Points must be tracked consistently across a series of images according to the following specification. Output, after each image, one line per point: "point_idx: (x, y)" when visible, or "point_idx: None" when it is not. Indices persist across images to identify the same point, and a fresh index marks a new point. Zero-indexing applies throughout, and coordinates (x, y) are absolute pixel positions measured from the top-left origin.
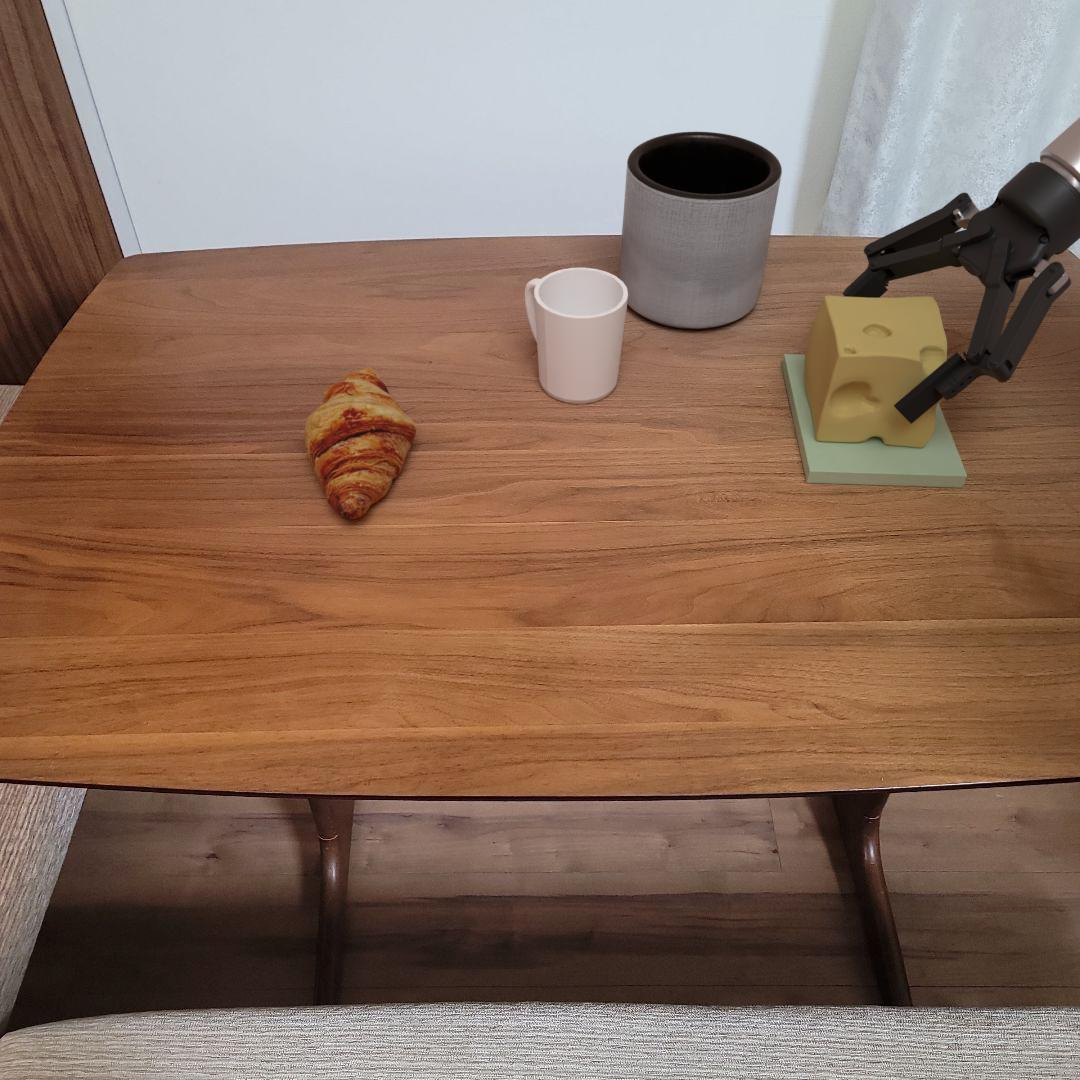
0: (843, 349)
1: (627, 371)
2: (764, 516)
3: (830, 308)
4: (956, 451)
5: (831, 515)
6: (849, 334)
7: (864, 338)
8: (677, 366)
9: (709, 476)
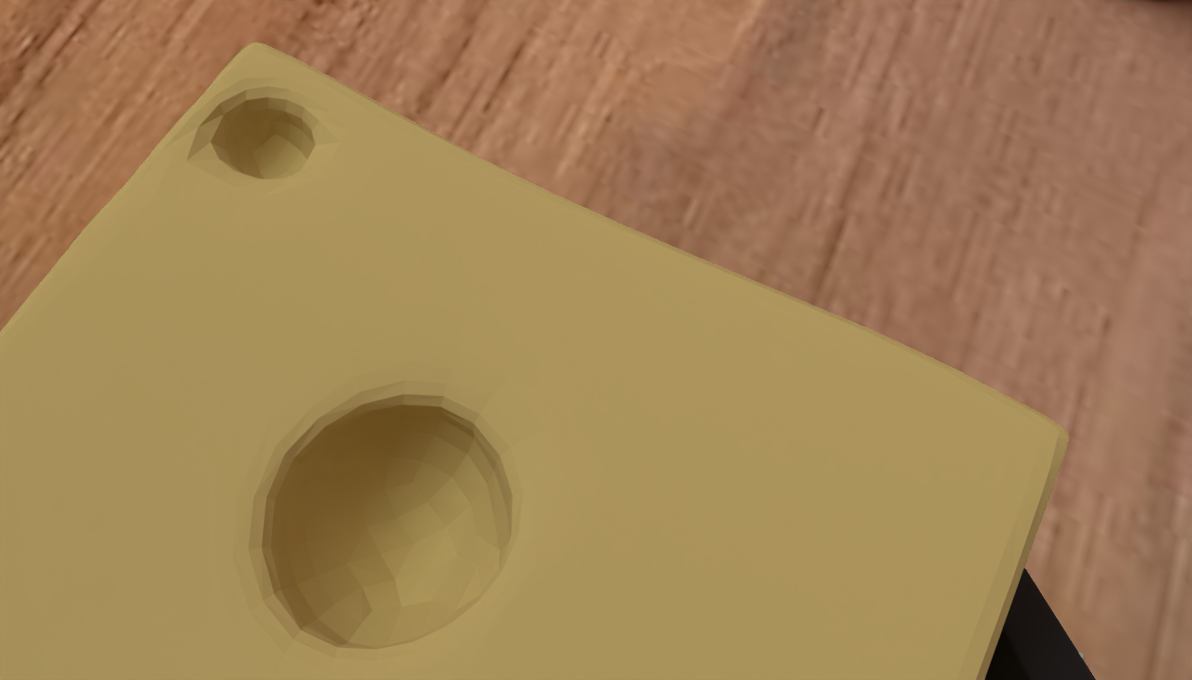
0: (299, 98)
1: (1153, 44)
2: (182, 61)
3: (850, 333)
4: None
5: (36, 265)
6: (444, 247)
7: (329, 313)
8: (1149, 221)
9: (462, 9)
